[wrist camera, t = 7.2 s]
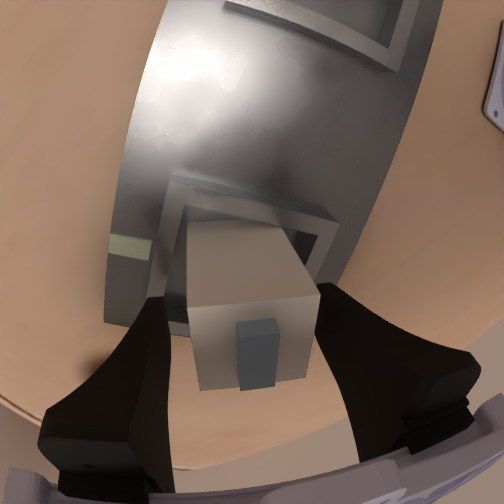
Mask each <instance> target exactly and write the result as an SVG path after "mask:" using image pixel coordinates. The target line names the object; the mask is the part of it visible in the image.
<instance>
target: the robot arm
mask: <svg viewBox="0 0 504 504" xmlns="http://www.w3.org/2000/svg"><path fill="white" fill-rule="evenodd" d="M484 113H485V115H486V116H487V117H488V118H489V119H490V120H491V121H492V122H493V123H494V124H495V125H497V126H498V127H499V128H500V129H501V130H502V131H503V132H504V21H503V26H502V32H501V38H500V43H499V48H498V53H497V58H496V62H495V66H494V71H493V75H492V79H491V83H490V87H489V90H488V94H487V98H486V101H485V104H484ZM317 289H318V291H319V293H320V294H321V296H320V302H319V308H318V314H317V320H316V326H315V331H314V333H315V336H316V339H317V342H318V344H319V346H320V349H321V351H322V353H323V355H324V357H325V359H326V361H327V363H328V365H329V367H330V369H331V371H332V373H333V375H334V378H335V380H336V382H337V384H338V386H339V389H340V391H341V394H342V397H343V400H344V403H345V406H346V410H347V413H348V416H349V420H350V423H351V426H352V430H353V434H354V439H355V442H356V447H357V452H358V456H359V461H360V463H358V464H355V465H352V466H349V467H345V468H342V469H339V470H334V471H331V472H327V473H323V474H319V475H315V476H311V477H306V478H301V479H297V480H292V481H287V482H281V483H276V484H270V485H264V486H257V487H250V488H243V489H234V490H224V491H212V492H198V493H175V486H174V479H173V471H172V463H171V454H170V442H169V429H168V391H169V378H170V365H171V334H170V329H169V324H168V318H167V313H166V307H165V301H164V296H159V297H148V298H147V299H146V301H145V303H144V305H143V307H142V308H141V310H140V312H139V314H138V315H137V317H136V319H135V321H134V322H133V324H132V325H131V327H130V328H129V330H128V332H127V333H126V335H125V336H124V337H123V339H122V340H121V342H120V343H119V344H118V346H117V347H116V349H115V350H114V351H113V352H112V354H111V355H110V356H109V357H108V358H107V360H106V361H105V362H104V363H103V364H102V365H101V366H100V367H99V368H98V369H97V370H96V372H95V373H94V374H93V375H92V376H90V377H89V378H88V379H87V380H86V381H85V382H84V383H83V384H82V385H80V386H79V387H78V388H77V389H76V390H74V391H73V392H72V393H71V394H69V395H68V396H66V397H65V398H64V399H62V400H61V401H59V402H58V403H56V404H55V405H53V406H52V407H50V408H48V409H47V410H46V412H45V415H44V418H43V421H42V425H41V429H40V434H39V438H38V443H37V445H38V448H39V450H40V452H41V453H42V454H43V455H44V456H45V457H46V458H47V459H48V460H49V461H50V462H51V463H52V464H53V465H54V466H55V467H56V468H57V469H58V470H59V471H60V473H59V480H58V484H54V483H50V482H49V481H48V480H47V479H46V478H45V477H43V476H41V475H40V474H38V473H36V472H32V471H28V470H24V469H20V468H15V467H12V466H10V467H8V472H7V477H6V483H5V488H4V494H3V501H2V504H431V503H433V502H435V501H437V500H439V499H440V498H442V497H444V496H446V495H447V494H449V493H451V492H452V491H454V490H456V489H457V488H459V487H460V486H462V485H464V484H465V483H467V482H468V481H470V480H471V479H473V478H474V477H476V476H477V475H479V474H480V473H482V472H483V471H485V470H486V469H488V468H489V467H490V466H492V465H493V464H495V463H496V462H497V461H498V460H500V459H501V458H502V457H503V456H504V396H503V395H502V393H499V394H498V395H496V396H494V397H493V398H491V399H489V400H487V401H486V402H485V403H483V404H482V405H481V406H480V407H479V408H478V409H477V411H476V412H475V414H474V415H473V416H472V414H471V413H470V411H469V410H468V408H467V407H466V406H468V405H469V401H468V399H467V398H466V396H467V394H468V393H469V391H470V390H471V389H472V387H473V386H474V384H475V383H476V381H477V379H478V378H479V375H480V373H481V366H480V365H479V364H478V362H477V361H476V360H475V358H474V357H473V356H472V354H471V353H470V352H466V351H462V350H458V349H454V348H449V347H446V346H443V345H439V344H436V343H433V342H430V341H428V340H425V339H423V338H420V337H418V336H415V335H413V334H411V333H409V332H406V331H404V330H403V329H401V328H399V327H397V326H395V325H393V324H391V323H389V322H388V321H386V320H384V319H383V318H381V317H380V316H378V315H376V314H375V313H373V312H372V311H370V310H369V309H367V308H366V307H365V306H363V305H362V304H360V303H359V302H358V301H356V300H355V299H353V298H352V297H351V296H349V295H348V294H347V293H345V292H344V291H343V290H341V289H340V288H338V287H337V286H336V285H334V284H333V283H331V282H328V283H319V284H317Z"/></svg>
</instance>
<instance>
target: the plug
mask: <svg viewBox="0 0 504 504" xmlns="http://www.w3.org/2000/svg"><path fill="white" fill-rule="evenodd" d="M320 296H321V294H320V293H319V291H318V289H317V287H316V286H315V284H314V282H313V280H312V279H311V277H310V275H309V273H308V272H307V270H306V268H305V267H304V265H303V263H302V262H301V260H300V258H299V256H298V255H297V253H296V251H295V250H294V248H293V246H292V245H291V243H290V241H289V240H288V238H287V236H286V235H285V233H284V231H283V230H282V228H281V226H277V225H273V224H269V223H265V222H260V221H256V220H252V219H237V220H221V221H206V222H192V223H187V311H188V319H189V326H190V332H191V339H192V346H193V352H194V358H195V364H196V370H197V376H198V382H199V387H200V391H204V390H215V389H226V388H235V387H240V391H244V390H252V389H260V388H267V387H274V386H275V382H281V381H287V380H293V379H299V378H305V377H306V372H307V367H308V362H309V357H310V352H311V347H312V342H313V336H314V331H315V326H316V320H317V314H318V308H319V302H320Z"/></svg>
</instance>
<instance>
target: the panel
mask: <svg viewBox="0 0 504 504" xmlns="http://www.w3.org/2000/svg"><path fill="white" fill-rule="evenodd" d="M442 4H443V0H169V1H168V3H167V6H166V8H165V11H164V14H163V16H162V19H161V22H160V24H159V27H158V30H157V33H156V36H155V38H154V41H153V44H152V47H151V50H150V53H149V57H148V60H147V63H146V66H145V70H144V73H143V76H142V80H141V83H140V87H139V90H138V94H137V98H136V101H135V105H134V109H133V113H132V117H131V121H130V126H129V130H128V134H127V139H126V143H125V148H124V153H123V158H122V163H121V168H120V174H119V179H118V185H117V191H116V197H115V204H114V210H113V217H112V225H111V233H110V238H109V247H108V260H107V272H106V285H105V301H104V323H109V324H114V325H119V326H125V327H131V325H132V324H133V322H134V321H135V319H136V317H137V315H138V314H139V312H140V310H141V308H142V307H143V305H144V303H145V301H146V299H147V298H148V297H159V296H164V301H165V307H166V313H167V318H168V324H169V329H170V334H171V335H177V336H184V337H191V332H190V326H189V319H188V311H187V223H192V222H206V221H221V220H237V219H252V220H256V221H260V222H265V223H269V224H273V225H277V226H281V228H282V230H283V231H284V233H285V235H286V236H287V238H288V240H289V241H290V243H291V245H292V246H293V248H294V250H295V251H296V253H297V255H298V256H299V258H300V260H301V262H302V263H303V265H304V267H305V268H306V270H307V272H308V273H309V275H310V277H311V279H312V280H313V282H314V284H315V286H316V287H317V284H319V283H328V282H331V283H333V284H334V285H337V283H338V281H339V279H340V277H341V275H342V273H343V271H344V269H345V267H346V265H347V263H348V260H349V258H350V256H351V254H352V252H353V250H354V248H355V246H356V244H357V241H358V239H359V237H360V235H361V233H362V231H363V228H364V226H365V224H366V222H367V219H368V217H369V215H370V213H371V210H372V208H373V206H374V204H375V201H376V199H377V197H378V194H379V192H380V189H381V187H382V185H383V182H384V180H385V177H386V175H387V172H388V170H389V168H390V165H391V163H392V160H393V157H394V155H395V152H396V150H397V147H398V144H399V142H400V139H401V137H402V134H403V131H404V128H405V126H406V123H407V120H408V117H409V115H410V112H411V109H412V106H413V103H414V100H415V97H416V94H417V91H418V88H419V85H420V82H421V79H422V76H423V73H424V69H425V66H426V63H427V59H428V56H429V53H430V49H431V46H432V42H433V39H434V35H435V31H436V28H437V24H438V20H439V16H440V12H441V8H442Z"/></svg>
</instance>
